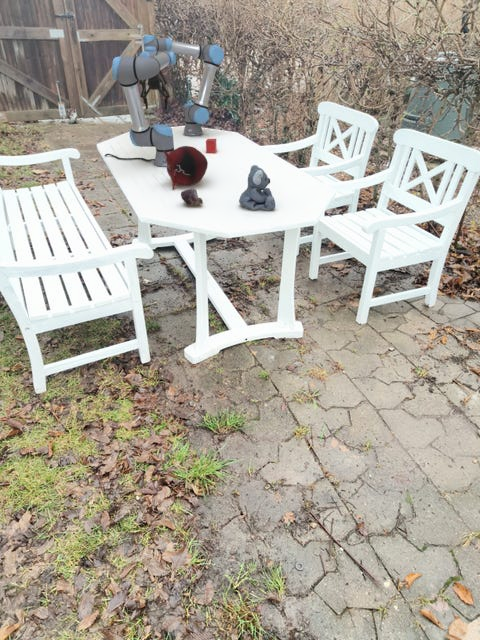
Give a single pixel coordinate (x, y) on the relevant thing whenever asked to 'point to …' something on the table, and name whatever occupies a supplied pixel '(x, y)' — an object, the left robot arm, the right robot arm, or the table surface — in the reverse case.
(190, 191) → the rock
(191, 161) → the dark red rounded piece
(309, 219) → the table surface
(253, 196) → the koala plush
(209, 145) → the brick
